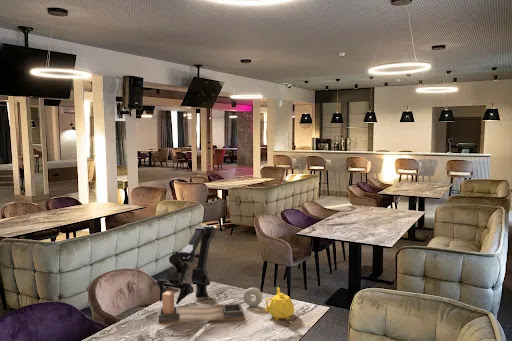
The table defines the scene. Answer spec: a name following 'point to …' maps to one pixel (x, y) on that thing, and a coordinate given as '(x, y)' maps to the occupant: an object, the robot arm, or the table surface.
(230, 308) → the puzzle board
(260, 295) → the donut
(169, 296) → the block
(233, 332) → the table surface
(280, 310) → the teapot
